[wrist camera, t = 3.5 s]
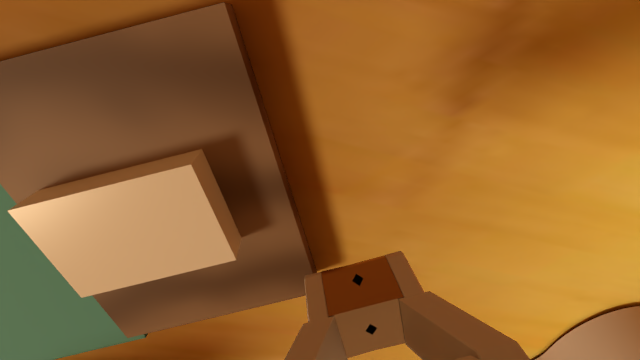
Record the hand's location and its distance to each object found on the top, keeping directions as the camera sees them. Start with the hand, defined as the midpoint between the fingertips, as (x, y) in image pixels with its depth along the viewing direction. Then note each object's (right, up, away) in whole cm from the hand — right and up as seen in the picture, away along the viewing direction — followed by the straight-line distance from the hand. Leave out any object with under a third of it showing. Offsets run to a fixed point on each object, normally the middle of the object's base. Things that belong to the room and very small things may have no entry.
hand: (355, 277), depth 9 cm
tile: (-11, +1, +8) cm, 14 cm away
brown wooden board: (-10, +2, +10) cm, 14 cm away
